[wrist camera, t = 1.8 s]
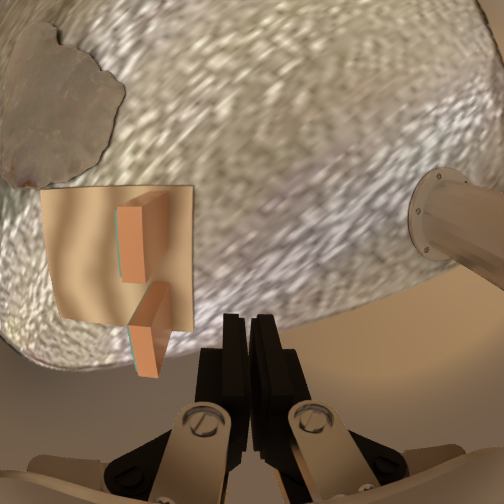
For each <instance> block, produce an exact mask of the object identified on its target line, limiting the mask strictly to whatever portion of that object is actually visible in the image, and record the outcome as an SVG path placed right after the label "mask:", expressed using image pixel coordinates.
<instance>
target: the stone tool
mask: <svg viewBox="0 0 504 504" xmlns="http://www.w3.org/2000/svg"><path fill="white" fill-rule="evenodd" d="M3 90H4V102H3V105H4V107H3V127H2V133H3V154H2V167H1V169H0V174H1V176H2V177H3V179H5V180H6V181H7V183H8V184H9V185H10V187H11V188H13V189H28V188H30V189H35V190H39V189H41V188H42V187H46V186H47V185H48V184H50V183H62V182H66V183H67V182H69V181H70V180H71V179H72V178H73V177H75V176H78V175H79V174H81V173H82V172H84V171H85V170H86V169H88V168H91V167H93V166H94V165H95V164H96V163H97V162H98V161H99V159H100V156H101V154H102V151H103V150H104V149H106V147H107V145H108V142H109V139H110V135H111V132H112V130H113V124H114V117H115V115H116V112H117V108H118V107H119V105H120V104H121V102H122V100H123V97H124V95H125V89H124V86H123V84H121V83H119V82H117V81H116V80H115V78H114V77H113V75H112V74H111V73H110V72H109V71H100V68H99V66H98V65H97V63H96V62H95V60H94V59H93V58H92V57H91V56H90V55H89V54H88V53H86V52H83V51H81V50H79V49H77V48H76V46H61V45H59V44H58V40H57V28H56V27H53V26H52V25H51V23H48V22H41V21H38V20H36V21H34V22H33V23H32V24H31V25H29V26H27V27H26V29H25V30H24V33H23V37H22V38H21V40H20V41H19V42H18V44H17V46H16V48H15V50H14V52H13V55H12V57H11V59H10V62H9V64H8V66H7V70H6V74H5V76H4V86H3Z"/></svg>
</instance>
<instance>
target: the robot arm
mask: <svg viewBox="0 0 504 504" xmlns="http://www.w3.org/2000/svg"><path fill="white" fill-rule="evenodd" d="M409 231H410V235H411V239H412V241H413V244H414V246H415V247H416V249H417V250H418V251H419V252H420V253H421V254H422V255H423V256H425V257H427V258H428V259H430V260H433V261H444V260H447V259H450V258H452V259H453V260H455V261H457V262H458V263H460V264H462V265H463V266H465V267H467V268H468V269H470V270H472V271H474V272H475V273H477V274H478V275H480V276H481V277H483V278H485V279H486V280H488V281H489V282H491V283H492V284H494V285H495V286H497V287H499V288H500V289H502V290H503V291H504V193H503V192H499V191H495V190H491V189H487V188H484V187H479V186H475V185H471V184H470V183H469V181H468V180H467V178H466V177H465V176H464V175H463V174H462V173H461V172H459V171H457V170H455V169H452V168H446V167H441V168H437V169H434V170H432V171H431V172H429V173H428V174H427V175H426V176H425V177H424V178H423V179H422V180H421V181H420V183H419V184H418V186H417V188H416V190H415V192H414V194H413V197H412V200H411V204H410V209H409ZM250 418H251V427H252V439H253V449H254V451H260V458H261V459H265V462H266V463H267V464H269V465H271V466H272V467H274V474H275V477H276V480H277V482H278V485H279V488H280V491H281V494H282V497H283V499H284V502H285V504H504V447H488V448H483V449H479V450H474V451H471V452H469V453H466V452H465V450H464V449H463V448H462V447H460V446H459V445H456V444H446V445H441V446H435V447H428V448H420V449H411V450H405V451H404V452H403V453H399V452H397V451H395V450H393V449H391V448H388V447H386V446H384V445H381V444H379V443H377V442H374V441H372V440H370V439H367V438H365V437H363V436H361V435H358V434H356V433H354V432H352V431H350V430H348V429H347V428H346V426H345V425H344V423H343V421H342V420H341V418H340V416H339V415H338V413H337V412H336V410H335V409H334V408H333V407H332V406H330V405H328V404H327V403H324V402H322V401H317V400H312V399H311V396H310V393H309V390H308V387H307V384H306V381H305V378H304V374H303V371H302V368H301V365H300V362H299V359H298V356H297V353H296V351H295V349H282V347H281V343H280V339H279V335H278V331H277V327H276V324H275V320H274V316H273V315H272V314H258V315H257V318H252V319H251V330H250V342H249V355H248V349H247V339H246V329H245V319H244V318H239V314H227V313H223V349H215V348H201V351H200V359H199V367H198V376H197V386H196V394H195V403H192V404H189V405H187V406H185V407H184V408H183V409H181V410H180V412H179V413H178V415H177V417H176V420H175V423H174V426H173V429H171V430H169V431H168V432H166V433H164V434H162V435H161V436H159V437H158V438H155V439H154V440H152V441H150V442H148V443H146V444H144V445H143V446H141V447H139V448H137V449H135V450H133V451H131V452H129V453H127V454H125V455H123V456H121V457H119V458H117V459H115V460H114V461H112V462H111V463H101V461H100V460H88V459H76V458H66V457H58V456H51V455H38V456H36V457H33V458H32V460H31V461H30V462H29V464H28V467H27V471H20V470H0V504H225V501H226V495H227V488H228V481H229V475H230V471H231V470H233V469H234V468H235V467H236V466H238V465H239V464H240V463H241V457H242V452H243V451H244V452H245V451H246V447H247V438H248V430H249V429H248V428H249V420H250Z"/></svg>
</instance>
